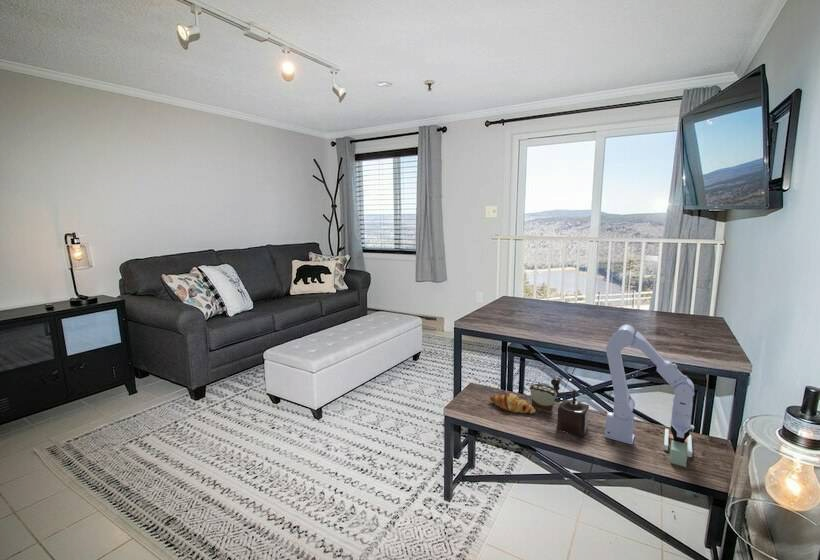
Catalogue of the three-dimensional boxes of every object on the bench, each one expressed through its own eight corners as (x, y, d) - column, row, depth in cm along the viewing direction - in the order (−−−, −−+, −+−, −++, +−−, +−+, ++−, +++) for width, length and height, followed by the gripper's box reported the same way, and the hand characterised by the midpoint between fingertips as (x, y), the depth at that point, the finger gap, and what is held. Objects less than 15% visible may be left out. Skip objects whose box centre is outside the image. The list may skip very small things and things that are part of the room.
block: (670, 462, 135) (671, 449, 134) (670, 452, 140) (671, 440, 140) (685, 467, 132) (687, 453, 131) (685, 457, 138) (686, 444, 137)
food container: (560, 409, 174) (561, 388, 172) (555, 414, 169) (556, 392, 168) (534, 401, 182) (535, 381, 181) (528, 405, 177) (529, 385, 176)
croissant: (536, 419, 172) (540, 401, 174) (532, 417, 164) (535, 398, 166) (491, 406, 183) (495, 389, 186) (484, 404, 175) (488, 386, 177)
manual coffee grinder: (588, 425, 160) (591, 384, 157) (583, 437, 151) (586, 393, 148) (550, 415, 168) (552, 376, 166) (543, 426, 159) (545, 384, 157)
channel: (663, 449, 142) (664, 444, 142) (664, 433, 154) (665, 428, 153) (691, 457, 138) (692, 452, 137) (690, 439, 149) (691, 434, 149)
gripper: (696, 423, 130) (692, 461, 132) (694, 407, 142) (691, 441, 144) (671, 417, 134) (667, 454, 136) (671, 402, 146) (668, 435, 148)
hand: (678, 447), depth 140 cm, fingers closed
